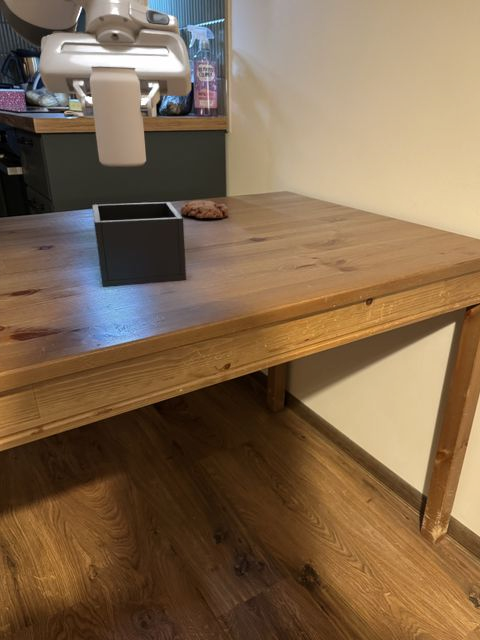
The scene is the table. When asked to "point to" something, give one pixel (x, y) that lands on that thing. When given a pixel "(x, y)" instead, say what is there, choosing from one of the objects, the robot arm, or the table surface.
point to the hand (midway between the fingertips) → (117, 113)
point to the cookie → (204, 209)
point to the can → (118, 116)
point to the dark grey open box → (139, 243)
